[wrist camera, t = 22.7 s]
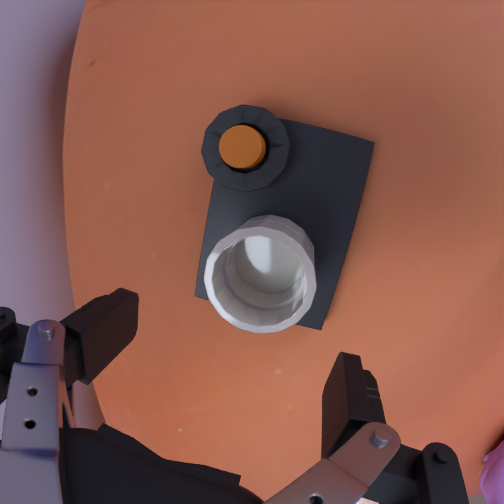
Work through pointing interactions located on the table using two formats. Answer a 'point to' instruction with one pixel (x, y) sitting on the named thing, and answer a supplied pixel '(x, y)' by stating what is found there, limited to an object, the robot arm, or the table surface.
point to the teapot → (493, 476)
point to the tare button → (242, 147)
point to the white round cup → (262, 274)
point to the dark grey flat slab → (289, 191)
